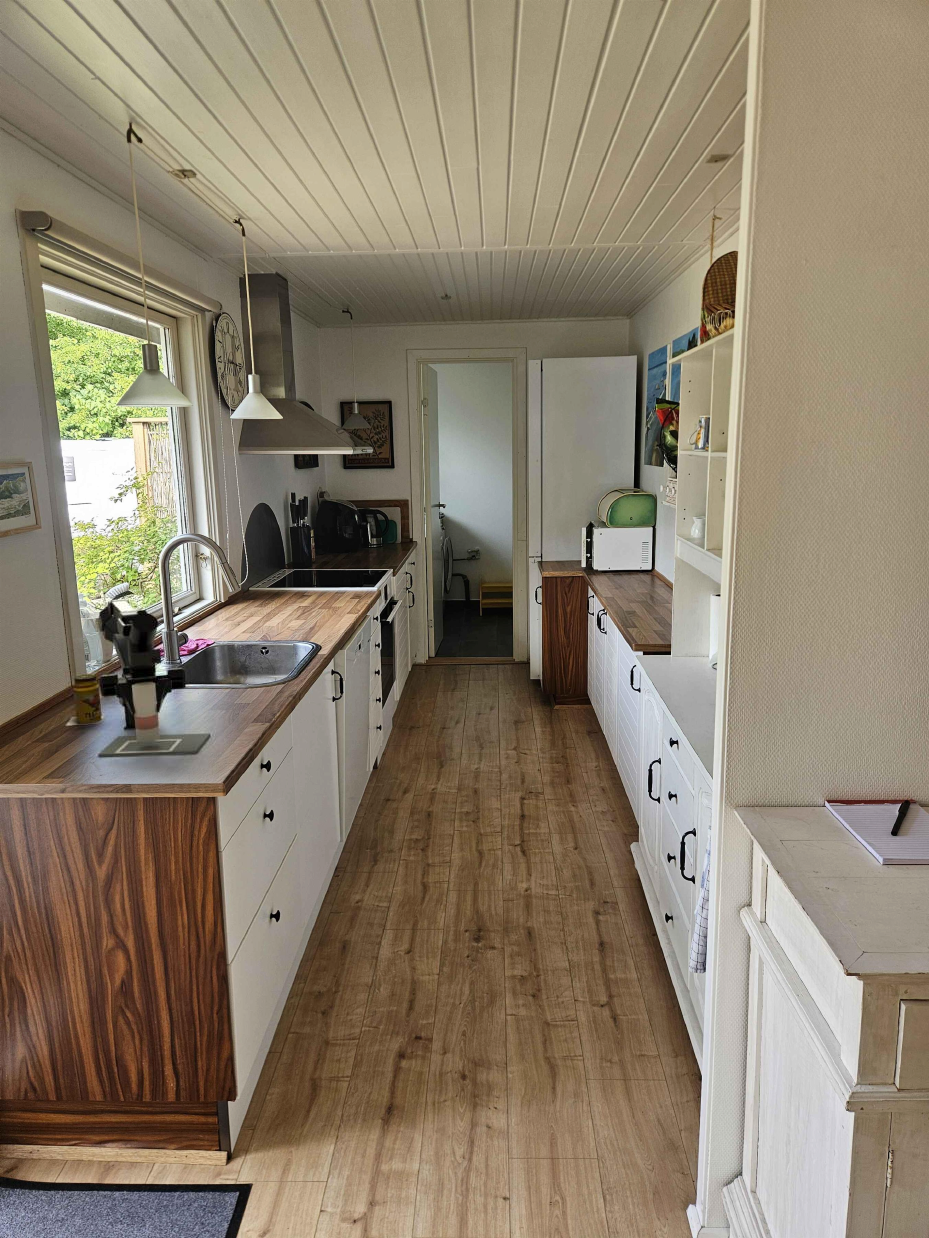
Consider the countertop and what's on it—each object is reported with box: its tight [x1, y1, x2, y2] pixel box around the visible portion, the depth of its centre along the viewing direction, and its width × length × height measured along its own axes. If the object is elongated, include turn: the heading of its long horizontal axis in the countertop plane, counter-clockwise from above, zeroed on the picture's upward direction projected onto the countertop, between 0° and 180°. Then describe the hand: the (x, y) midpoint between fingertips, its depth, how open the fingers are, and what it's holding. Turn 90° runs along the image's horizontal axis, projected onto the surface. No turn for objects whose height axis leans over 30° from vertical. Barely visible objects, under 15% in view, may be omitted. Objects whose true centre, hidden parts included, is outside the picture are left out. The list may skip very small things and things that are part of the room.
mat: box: [97, 733, 211, 758], centre depth 197 cm, size 22×13×1 cm, turn 93°
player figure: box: [132, 682, 160, 742], centre depth 193 cm, size 5×5×13 cm
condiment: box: [65, 673, 106, 727], centre depth 217 cm, size 7×8×12 cm
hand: (145, 713), depth 192 cm, fingers closed on player figure, 5 cm apart
